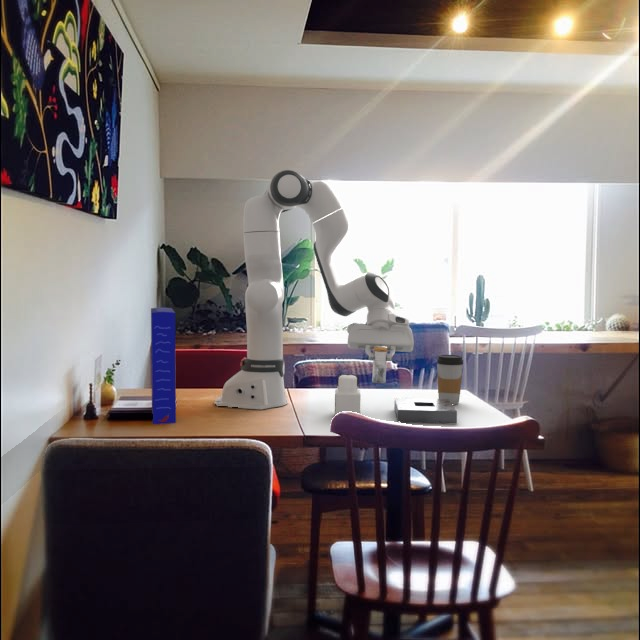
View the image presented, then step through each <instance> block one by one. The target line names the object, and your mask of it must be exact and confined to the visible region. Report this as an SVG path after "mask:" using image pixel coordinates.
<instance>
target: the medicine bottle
mask: <svg viewBox="0 0 640 640" xmlns="http://www.w3.org/2000/svg"><path fill="white" fill-rule="evenodd" d="M336 379H337V381H336V382H337V384H336V387H337V388H336V389H335V390H334V415H335V414H337V413H339V412H342V411H352V412H357V413H360V414H361V401H362V399H361V390H360V389H359V376H358V375H356V374H354V373H341V374H339V375H337V377H336Z"/></svg>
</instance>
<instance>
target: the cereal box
mask: <svg viewBox="0 0 640 640" xmlns="http://www.w3.org/2000/svg"><path fill="white" fill-rule="evenodd" d="M150 327H151V328H150V330H151V331H150V341H151V342H150V348H151V349H150V351H151V354H150V355H151V360H150V361H151V366H150V368H151V370H150V371H151V415H152V414H153V419H152V424H153V425H160V424H161V425H163V424H164V425H165V424H176V422H177V417H176V416H177V412H176V409H177V407H176V405H177V404H176V403H177V401H176V398H177V396H176V393H177V391H176V389H177V388H176V383H177V382H176V374H177V373H176V370H177V369H176V365H177V364H176V362H177V361H176V312H175V311H174V309H173V308H172V307H151V308H150Z"/></svg>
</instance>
